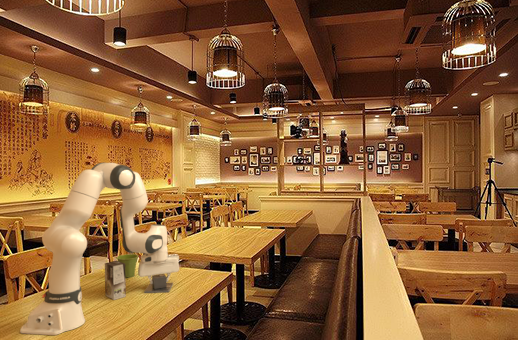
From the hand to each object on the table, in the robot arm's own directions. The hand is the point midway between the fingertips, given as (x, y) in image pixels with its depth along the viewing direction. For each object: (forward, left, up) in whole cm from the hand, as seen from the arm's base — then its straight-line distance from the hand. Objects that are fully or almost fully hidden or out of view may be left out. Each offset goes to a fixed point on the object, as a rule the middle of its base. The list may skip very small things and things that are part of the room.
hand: (159, 282), depth 192 cm
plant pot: (-22, +23, -3) cm, 32 cm away
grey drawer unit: (0, 0, -2) cm, 2 cm away
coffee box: (-19, -9, -3) cm, 21 cm away
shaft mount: (0, 0, -3) cm, 3 cm away
